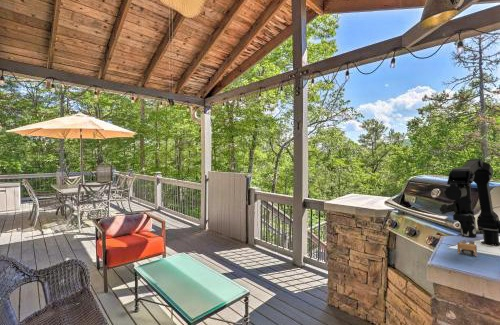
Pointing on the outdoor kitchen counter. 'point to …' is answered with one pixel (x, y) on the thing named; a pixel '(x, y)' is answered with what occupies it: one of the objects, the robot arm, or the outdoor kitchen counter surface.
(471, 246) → the orange u-shaped block
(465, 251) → the arm
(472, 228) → the beverage can
